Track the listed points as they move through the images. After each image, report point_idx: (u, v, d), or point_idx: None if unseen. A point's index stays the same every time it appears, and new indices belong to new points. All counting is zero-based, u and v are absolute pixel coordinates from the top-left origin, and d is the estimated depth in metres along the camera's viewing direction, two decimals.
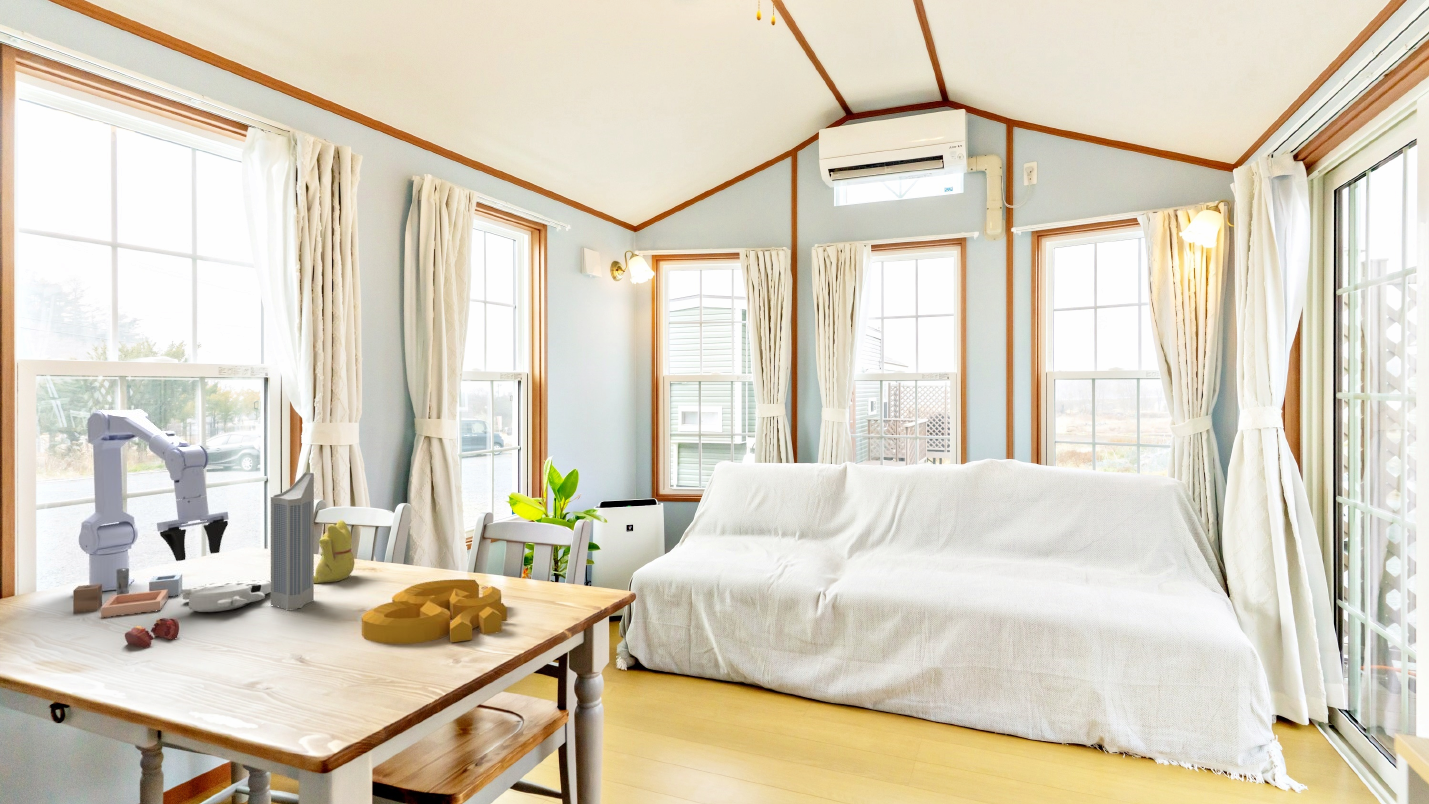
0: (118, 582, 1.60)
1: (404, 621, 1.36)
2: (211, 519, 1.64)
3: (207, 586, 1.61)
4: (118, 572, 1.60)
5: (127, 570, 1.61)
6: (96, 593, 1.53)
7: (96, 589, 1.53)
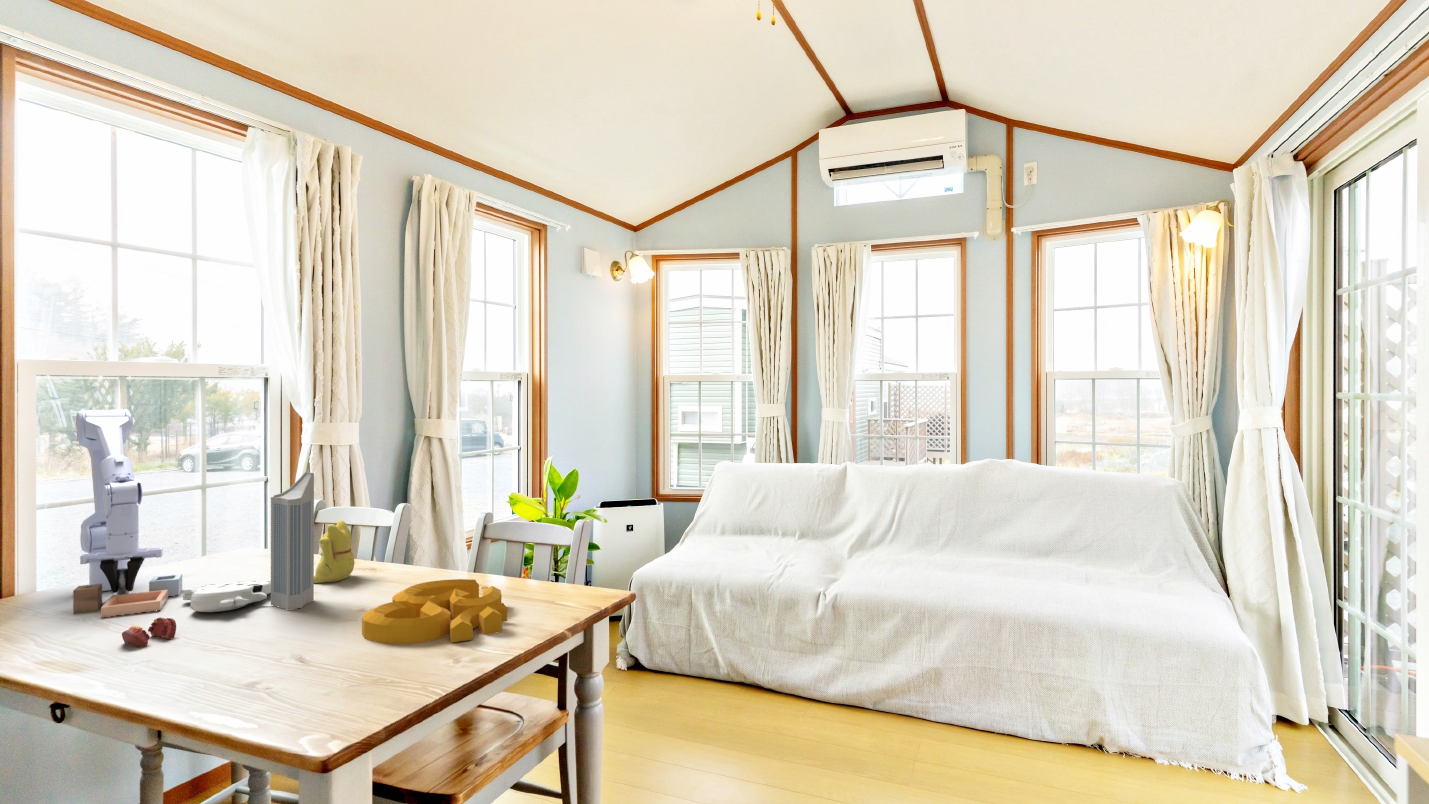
0: (118, 582, 1.60)
1: (404, 621, 1.36)
2: (142, 555, 1.63)
3: (208, 586, 1.61)
4: (118, 572, 1.60)
5: (127, 570, 1.61)
6: (96, 593, 1.53)
7: (96, 589, 1.53)
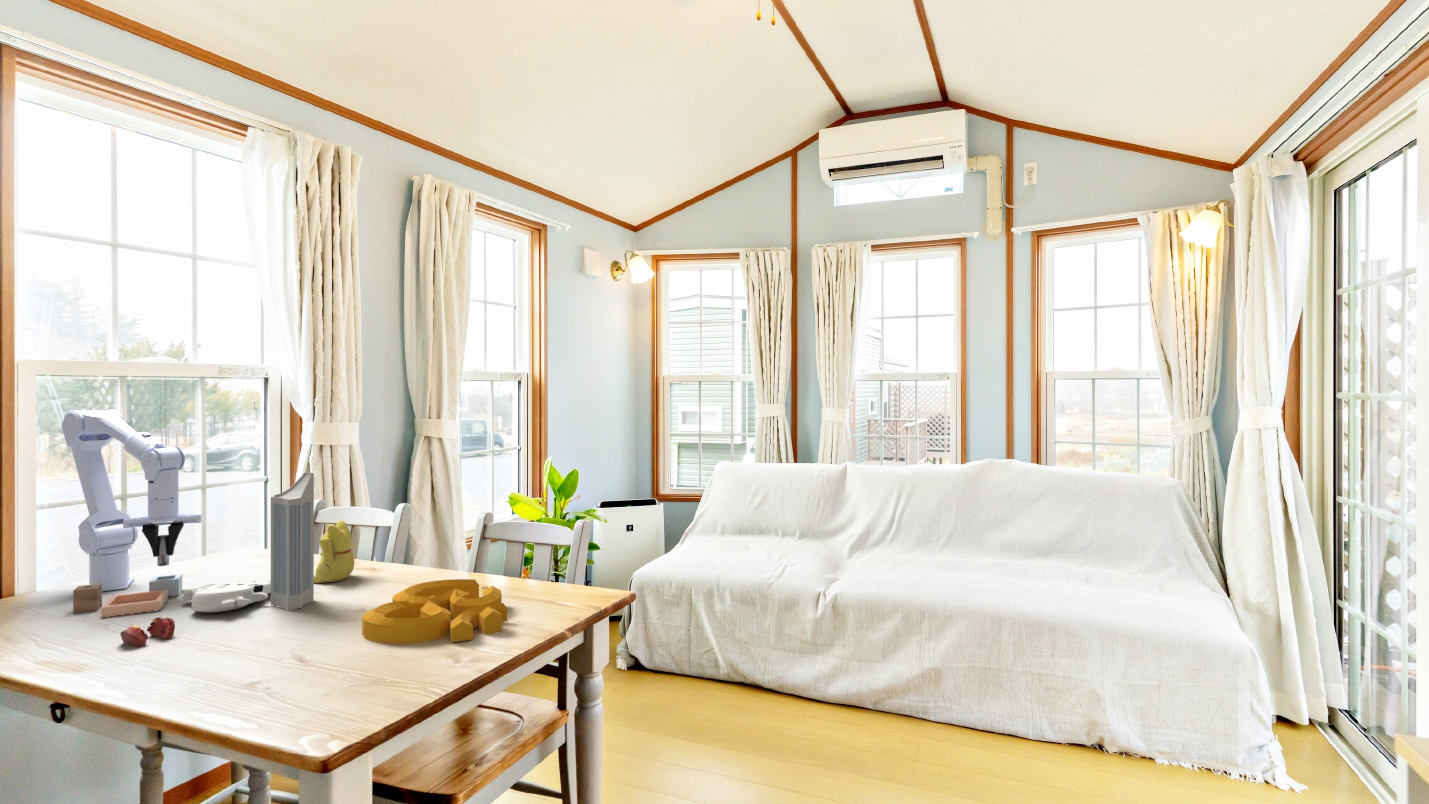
0: (159, 547, 1.64)
1: (405, 621, 1.36)
2: (182, 520, 1.67)
3: (208, 587, 1.61)
4: (159, 538, 1.64)
5: (167, 536, 1.65)
6: (96, 593, 1.53)
7: (96, 589, 1.53)
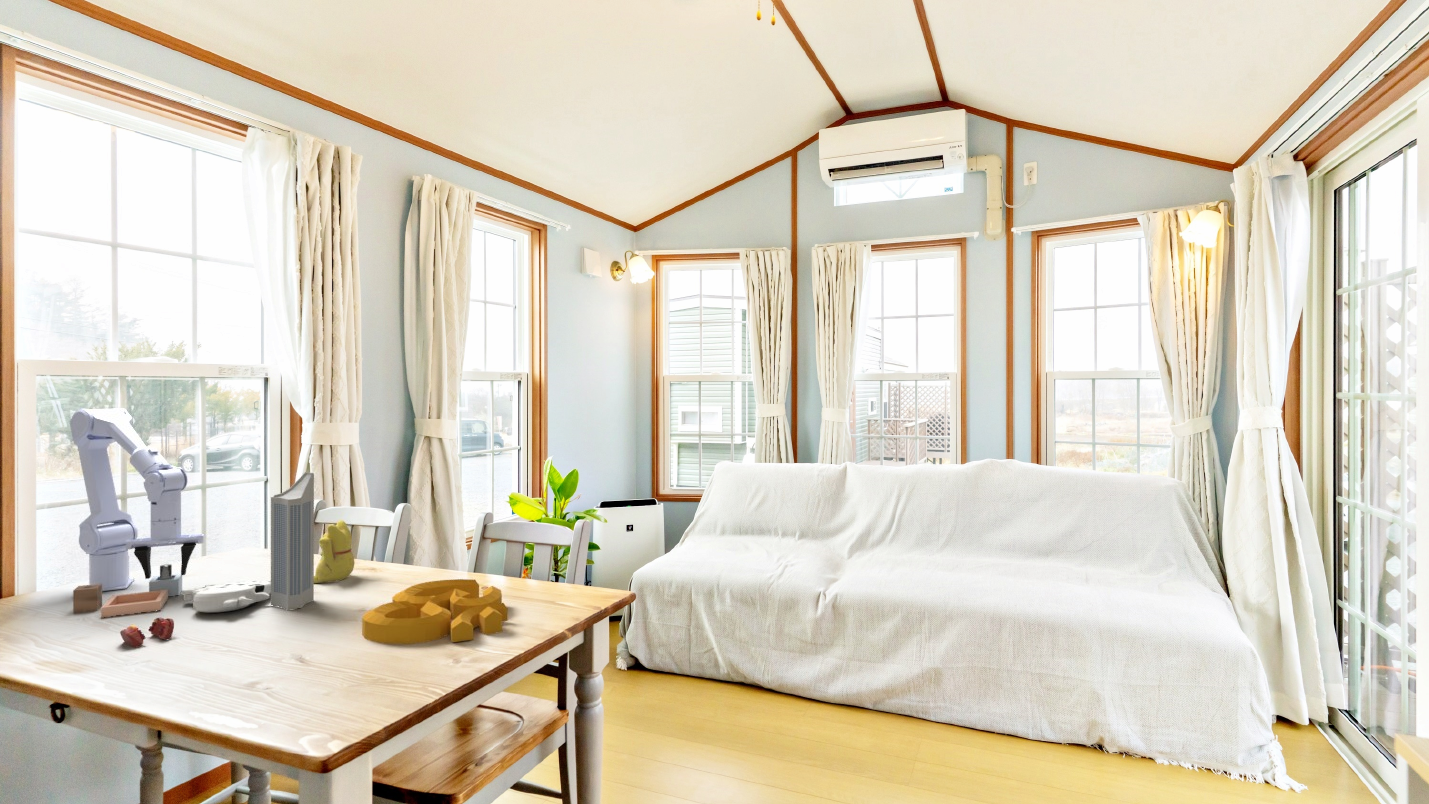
0: (162, 577, 1.64)
1: (405, 621, 1.36)
2: (185, 541, 1.67)
3: (208, 587, 1.61)
4: (162, 568, 1.64)
5: (170, 566, 1.65)
6: (96, 593, 1.53)
7: (96, 589, 1.53)
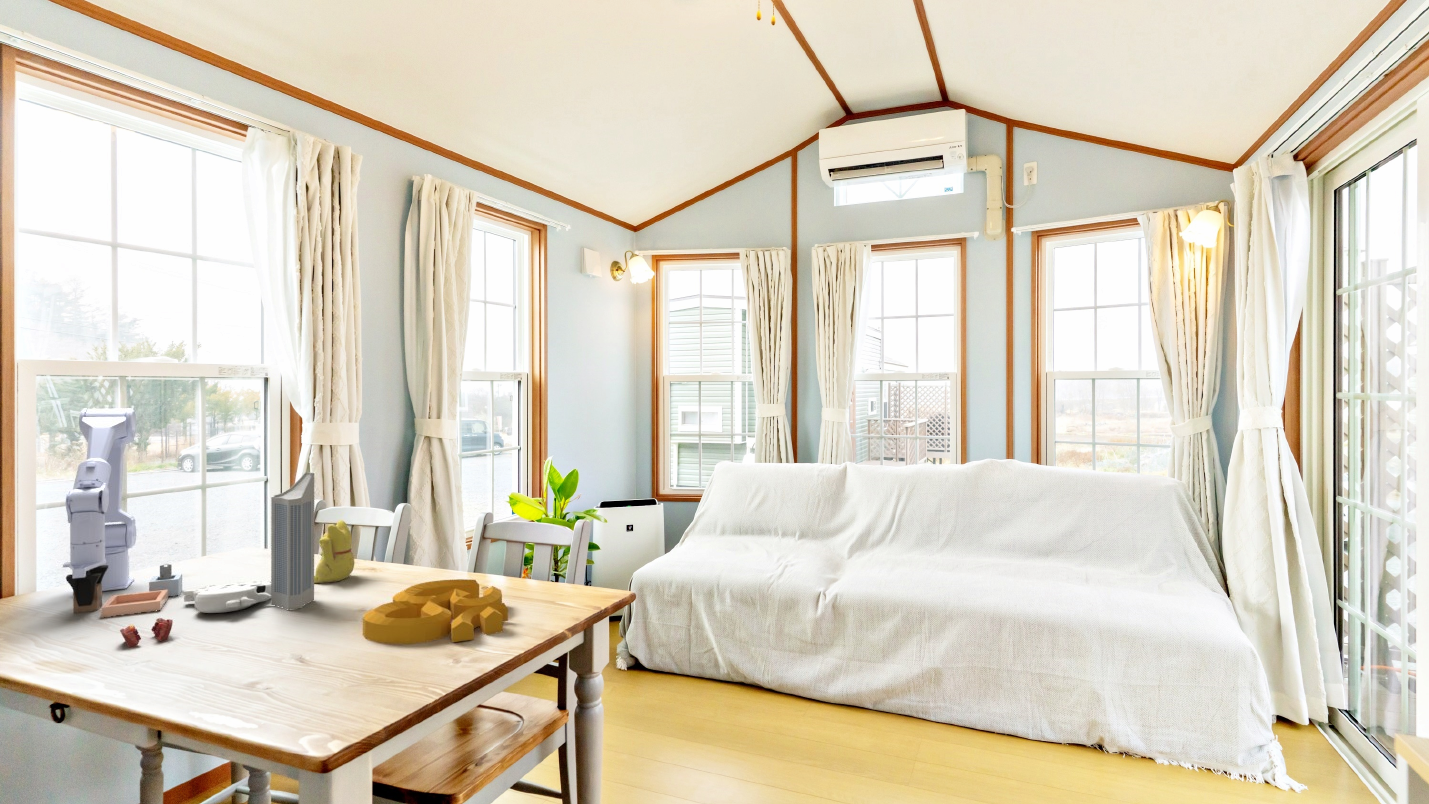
0: (162, 577, 1.64)
1: (405, 621, 1.36)
2: None
3: (209, 588, 1.60)
4: (161, 568, 1.64)
5: (170, 566, 1.65)
6: (96, 593, 1.53)
7: (96, 589, 1.53)
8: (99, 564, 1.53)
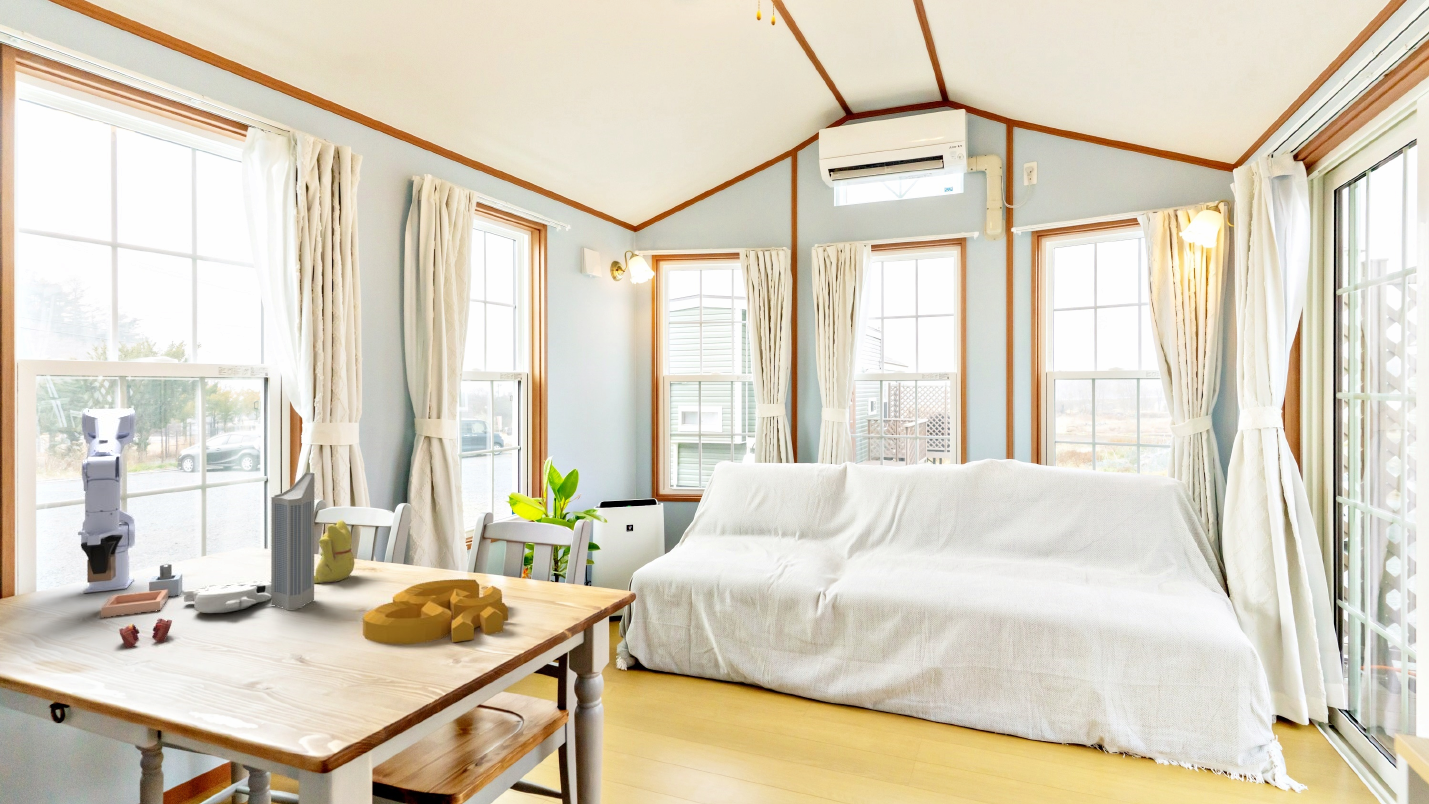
0: (162, 577, 1.64)
1: (406, 621, 1.36)
2: None
3: (209, 588, 1.60)
4: (161, 568, 1.64)
5: (170, 566, 1.65)
6: (110, 563, 1.53)
7: (110, 559, 1.53)
8: (113, 532, 1.53)
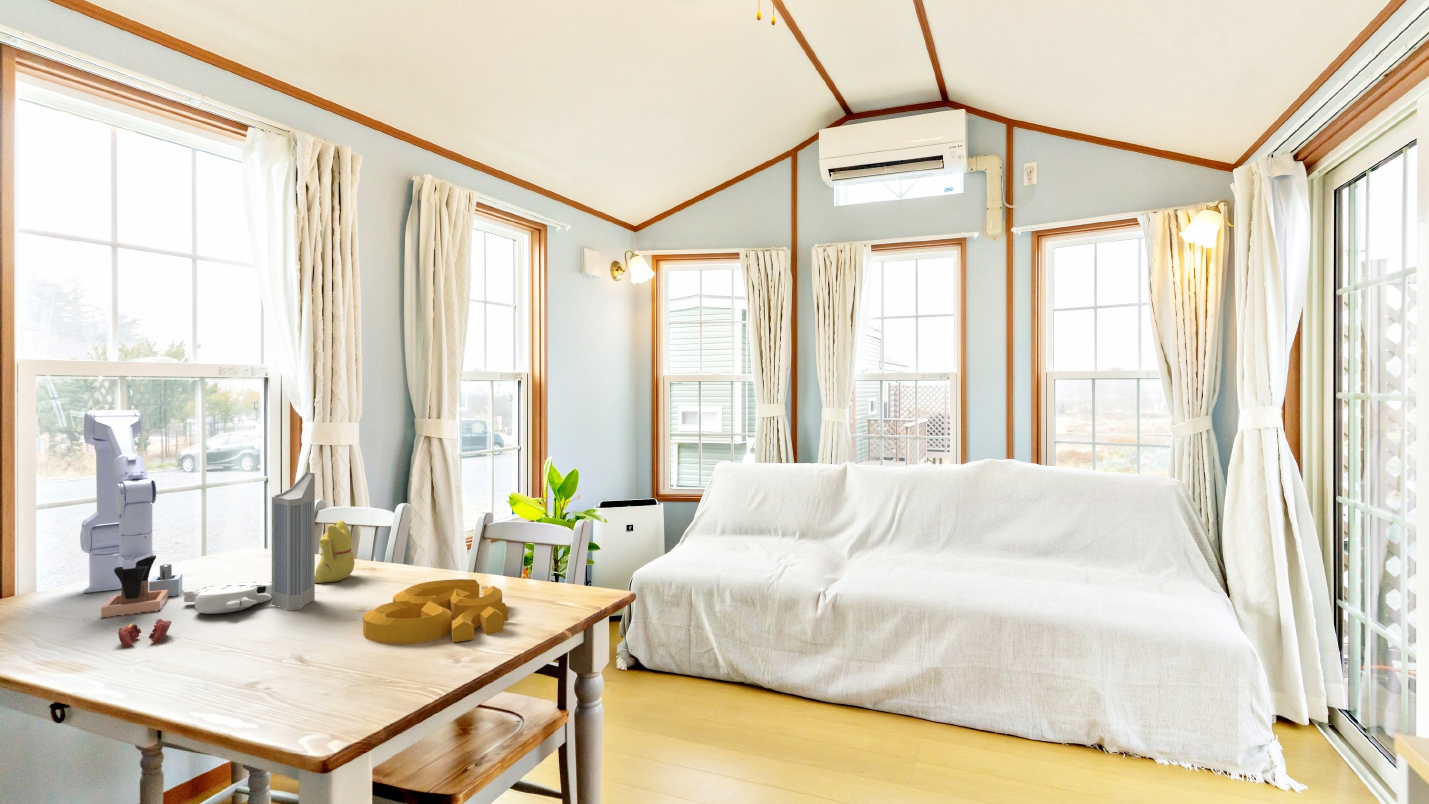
0: (162, 577, 1.64)
1: (406, 621, 1.36)
2: None
3: (209, 588, 1.60)
4: (161, 568, 1.64)
5: (170, 566, 1.65)
6: (143, 590, 1.54)
7: (143, 586, 1.54)
8: (147, 555, 1.54)
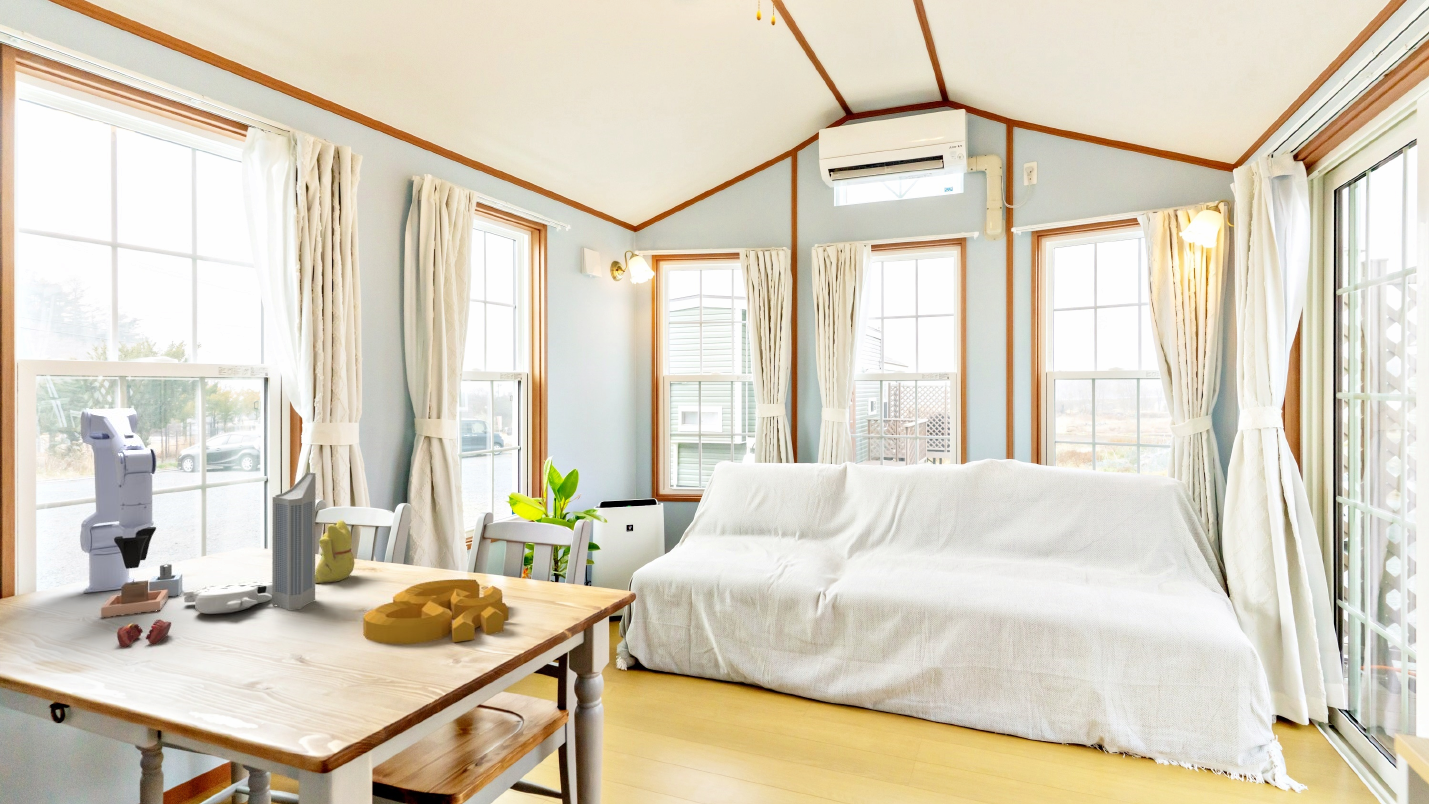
0: (162, 577, 1.64)
1: (406, 621, 1.36)
2: None
3: (209, 588, 1.59)
4: (162, 568, 1.64)
5: (170, 566, 1.65)
6: (143, 590, 1.54)
7: (143, 586, 1.54)
8: (147, 525, 1.54)
